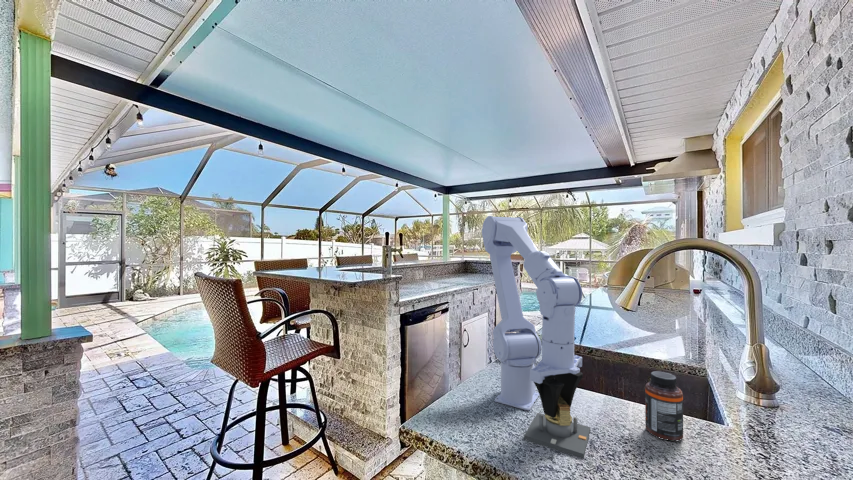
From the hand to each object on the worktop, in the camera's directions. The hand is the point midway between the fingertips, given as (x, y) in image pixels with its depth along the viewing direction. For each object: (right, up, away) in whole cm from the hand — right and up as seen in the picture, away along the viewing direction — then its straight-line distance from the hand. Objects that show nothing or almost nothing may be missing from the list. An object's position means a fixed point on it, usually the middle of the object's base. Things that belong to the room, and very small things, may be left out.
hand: (557, 411), depth 63 cm
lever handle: (0, -1, 0) cm, 1 cm away
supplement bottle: (+21, -5, +1) cm, 21 cm away
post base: (0, -4, 0) cm, 4 cm away
